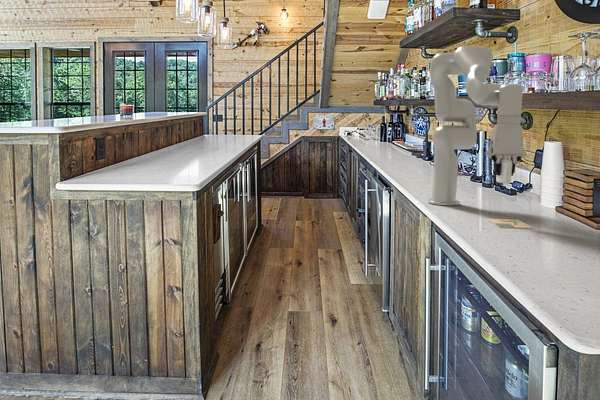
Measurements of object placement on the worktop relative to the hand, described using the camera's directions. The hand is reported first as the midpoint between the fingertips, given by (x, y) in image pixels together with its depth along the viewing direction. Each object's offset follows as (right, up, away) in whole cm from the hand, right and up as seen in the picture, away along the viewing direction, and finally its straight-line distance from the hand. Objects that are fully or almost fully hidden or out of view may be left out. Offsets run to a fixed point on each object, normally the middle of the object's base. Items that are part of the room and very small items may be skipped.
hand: (504, 174), depth 205 cm
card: (+2, -17, 0) cm, 17 cm away
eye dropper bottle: (0, -3, +1) cm, 3 cm away
